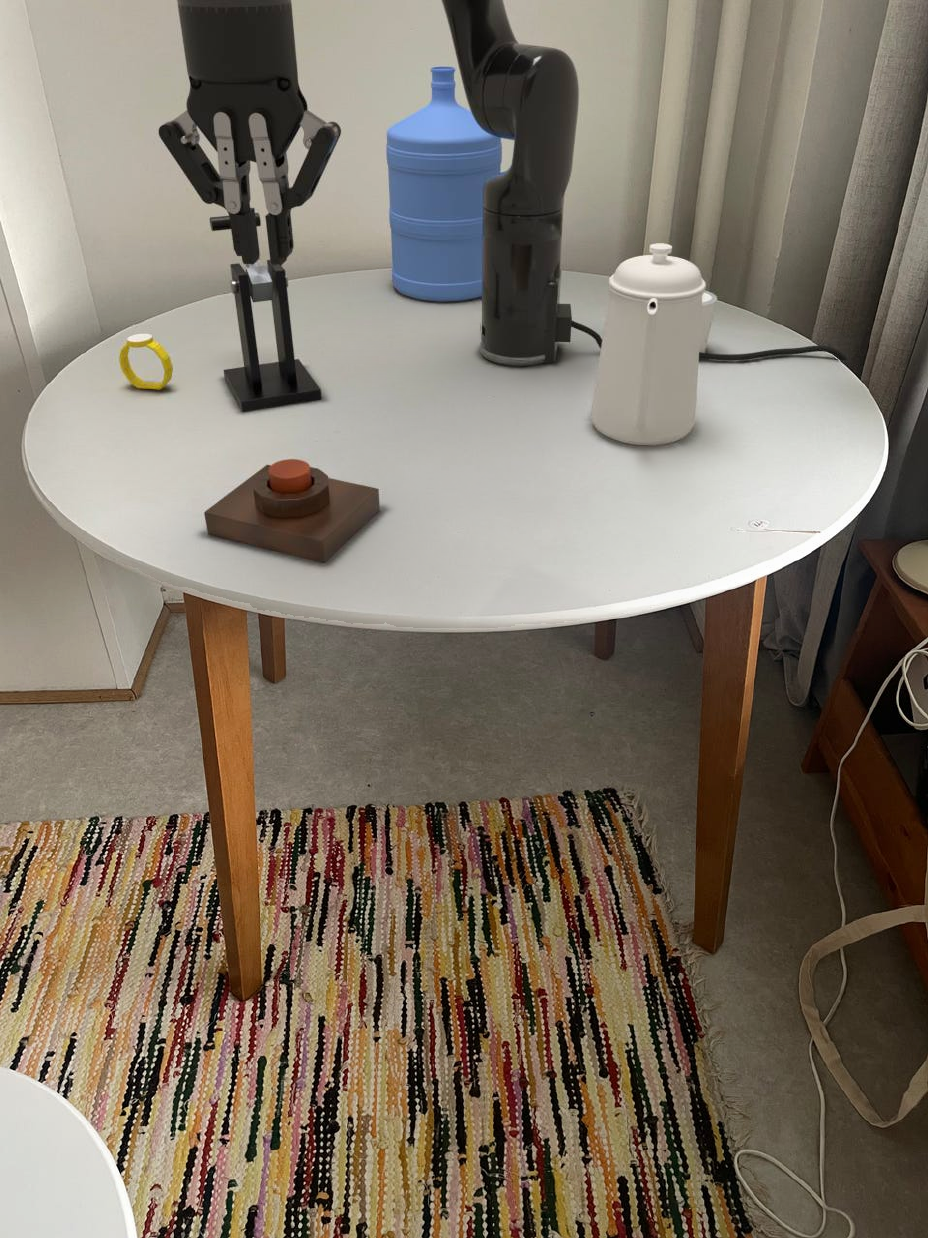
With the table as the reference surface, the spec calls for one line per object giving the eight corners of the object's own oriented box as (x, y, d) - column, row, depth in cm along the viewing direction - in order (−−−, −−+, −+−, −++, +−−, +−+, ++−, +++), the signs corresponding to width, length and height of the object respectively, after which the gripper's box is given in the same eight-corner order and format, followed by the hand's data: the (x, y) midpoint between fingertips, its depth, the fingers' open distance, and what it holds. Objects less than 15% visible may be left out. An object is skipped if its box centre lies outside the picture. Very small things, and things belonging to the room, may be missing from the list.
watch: (180, 385, 116) (171, 335, 112) (167, 395, 113) (158, 344, 110) (134, 380, 117) (124, 330, 113) (121, 389, 115) (110, 338, 111)
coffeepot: (577, 477, 97) (590, 282, 86) (600, 379, 117) (614, 210, 106) (691, 488, 95) (719, 289, 84) (695, 386, 115) (718, 215, 104)
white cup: (675, 338, 128) (681, 282, 124) (720, 351, 124) (729, 295, 120) (642, 352, 124) (648, 295, 120) (688, 366, 120) (695, 308, 116)
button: (319, 481, 89) (317, 463, 88) (297, 499, 86) (295, 480, 85) (284, 473, 90) (282, 455, 89) (262, 491, 87) (260, 473, 86)
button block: (380, 509, 92) (377, 470, 90) (324, 563, 84) (320, 522, 82) (269, 484, 96) (264, 446, 94) (207, 533, 88) (200, 493, 86)
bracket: (224, 379, 117) (206, 258, 109) (299, 368, 120) (287, 250, 112) (242, 411, 110) (224, 285, 102) (321, 399, 112) (310, 275, 104)
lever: (210, 229, 114) (208, 210, 112) (258, 224, 115) (257, 206, 113) (237, 304, 107) (236, 285, 105) (287, 298, 109) (287, 279, 107)
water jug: (472, 309, 137) (472, 79, 120) (372, 294, 142) (359, 72, 126) (516, 278, 148) (522, 63, 132) (422, 265, 154) (417, 57, 137)
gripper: (347, -7, 69) (363, 251, 79) (158, -8, 70) (197, 245, 81) (319, 2, 63) (340, 280, 73) (113, 0, 64) (161, 273, 75)
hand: (265, 261), depth 77 cm, fingers closed
